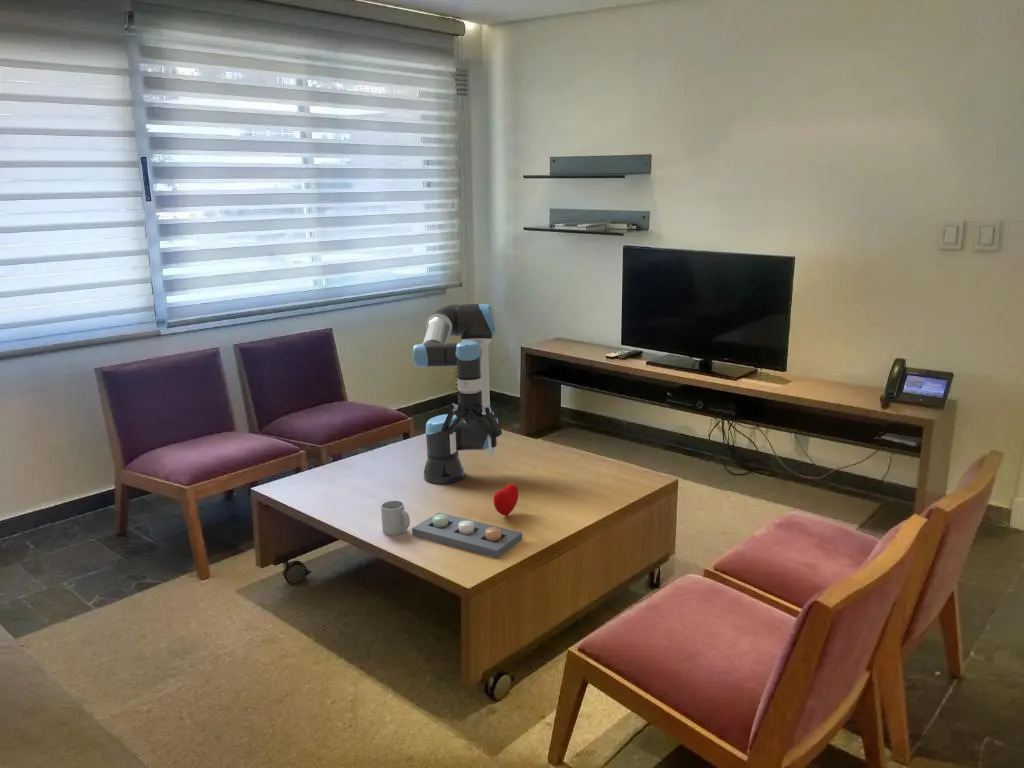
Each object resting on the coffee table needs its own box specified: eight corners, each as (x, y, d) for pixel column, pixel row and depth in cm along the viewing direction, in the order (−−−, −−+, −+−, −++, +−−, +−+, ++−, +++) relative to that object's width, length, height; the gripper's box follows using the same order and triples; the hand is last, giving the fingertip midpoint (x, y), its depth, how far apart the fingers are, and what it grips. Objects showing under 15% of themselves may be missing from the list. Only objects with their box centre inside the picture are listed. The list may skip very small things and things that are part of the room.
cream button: (455, 533, 246) (455, 525, 245) (464, 528, 250) (464, 519, 249) (468, 537, 244) (468, 528, 243) (477, 531, 248) (476, 522, 247)
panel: (412, 535, 250) (411, 528, 249) (439, 519, 261) (438, 512, 261) (497, 558, 233) (497, 550, 233) (522, 540, 245) (522, 532, 244)
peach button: (482, 540, 241) (482, 531, 240) (491, 534, 245) (490, 525, 244) (495, 544, 238) (495, 534, 238) (504, 538, 242) (504, 528, 242)
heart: (504, 524, 256) (503, 495, 254) (490, 520, 259) (489, 492, 257) (522, 511, 266) (522, 483, 263) (509, 508, 269) (508, 480, 266)
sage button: (430, 527, 251) (429, 518, 251) (439, 521, 255) (438, 513, 254) (442, 530, 249) (441, 521, 248) (451, 524, 253) (450, 516, 252)
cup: (392, 524, 258) (390, 498, 256) (417, 530, 253) (415, 504, 251) (378, 533, 252) (376, 506, 250) (402, 539, 247) (401, 512, 245)
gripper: (429, 390, 253) (432, 454, 258) (501, 396, 243) (503, 462, 248) (439, 385, 259) (443, 447, 264) (510, 390, 250) (512, 454, 255)
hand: (472, 454), depth 256 cm, fingers open, 13 cm apart
